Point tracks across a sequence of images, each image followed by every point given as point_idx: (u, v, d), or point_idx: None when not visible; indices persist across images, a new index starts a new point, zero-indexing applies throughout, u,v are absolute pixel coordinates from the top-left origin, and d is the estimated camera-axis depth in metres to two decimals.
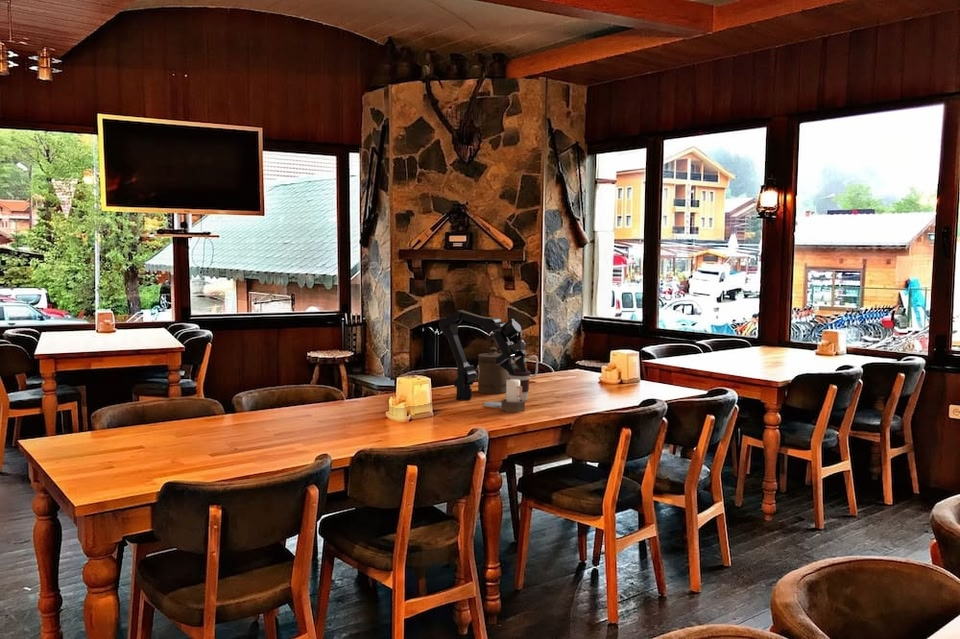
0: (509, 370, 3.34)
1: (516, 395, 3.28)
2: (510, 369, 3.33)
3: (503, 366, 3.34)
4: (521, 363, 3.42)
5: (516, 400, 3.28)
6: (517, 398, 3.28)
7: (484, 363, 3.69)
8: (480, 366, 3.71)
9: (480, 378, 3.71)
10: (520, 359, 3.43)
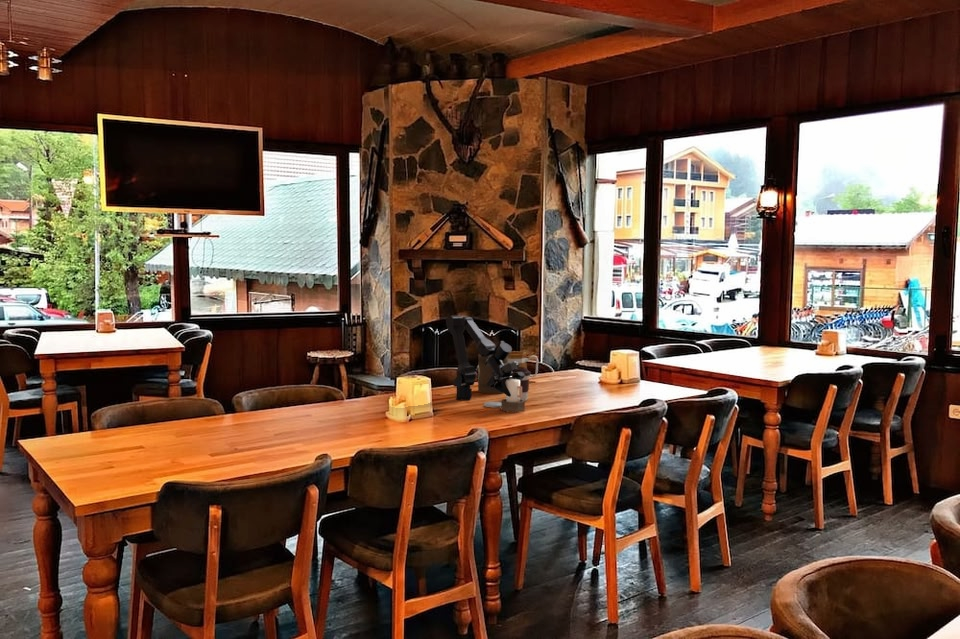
0: (504, 392, 3.28)
1: (516, 395, 3.28)
2: (505, 390, 3.28)
3: (498, 388, 3.30)
4: None
5: (516, 400, 3.28)
6: (517, 398, 3.28)
7: (484, 363, 3.69)
8: (480, 366, 3.71)
9: (480, 378, 3.71)
10: None
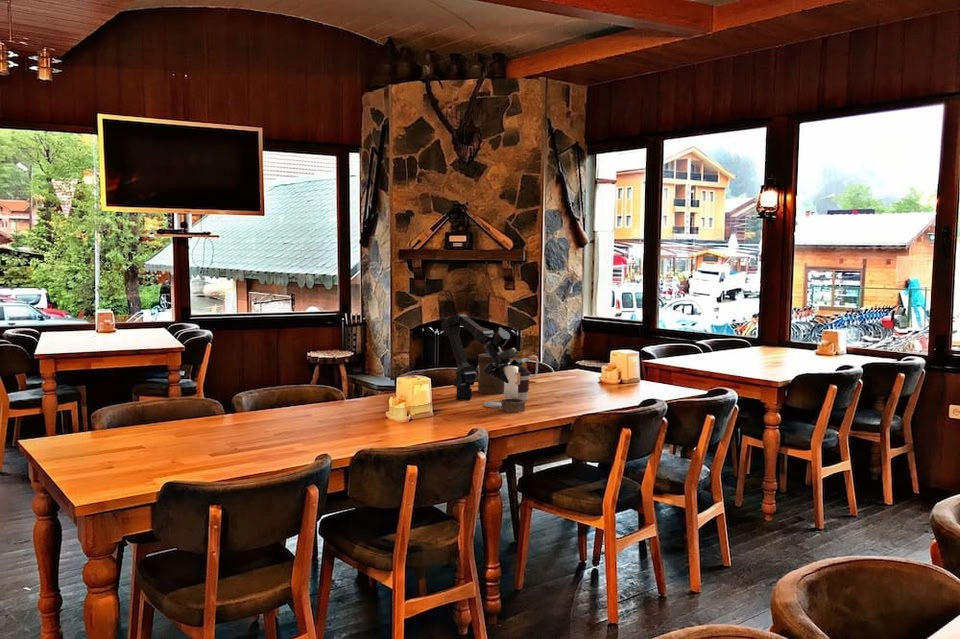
0: (502, 378, 3.29)
1: (514, 382, 3.28)
2: (503, 377, 3.28)
3: (496, 375, 3.30)
4: None
5: (514, 387, 3.28)
6: (515, 385, 3.28)
7: (484, 363, 3.69)
8: (480, 366, 3.71)
9: (480, 378, 3.71)
10: None
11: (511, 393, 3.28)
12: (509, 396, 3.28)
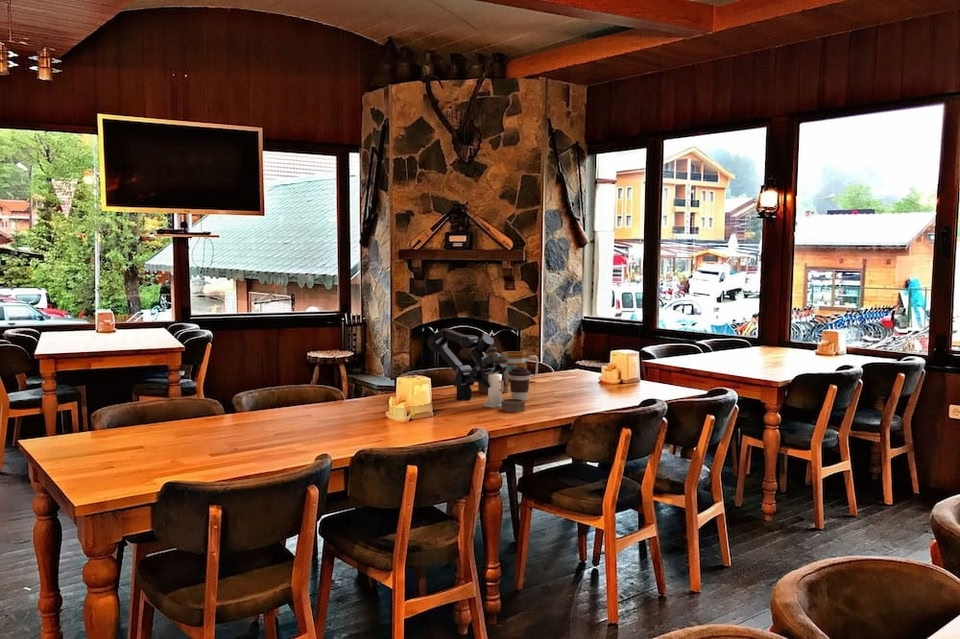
0: (484, 383, 3.35)
1: (497, 389, 3.36)
2: (484, 382, 3.35)
3: (478, 380, 3.37)
4: None
5: (497, 394, 3.36)
6: (498, 392, 3.37)
7: None
8: None
9: None
10: (499, 372, 3.43)
11: (494, 400, 3.36)
12: (493, 403, 3.36)
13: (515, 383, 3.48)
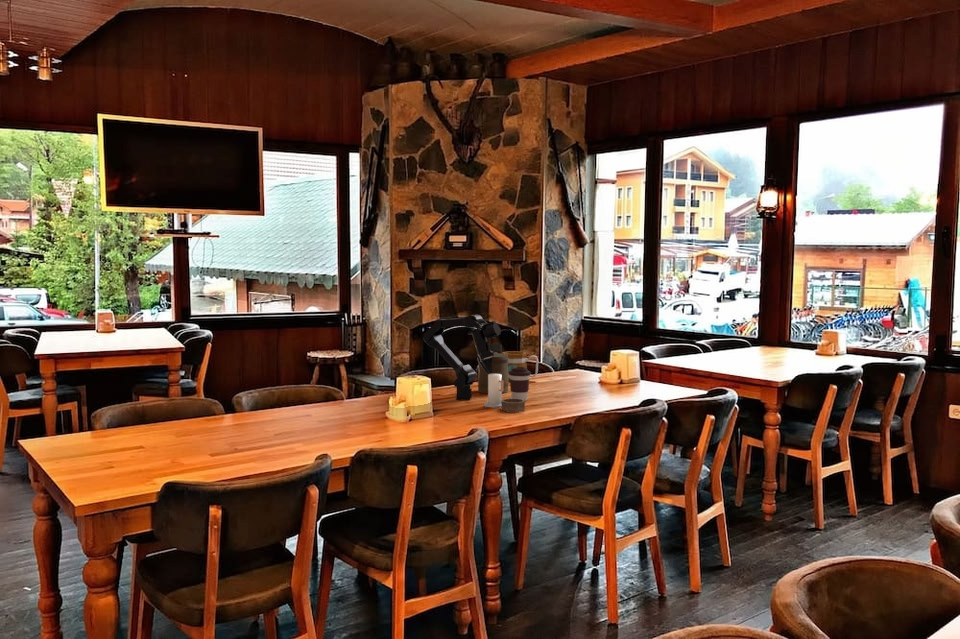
0: (488, 368, 3.41)
1: (497, 389, 3.36)
2: (490, 367, 3.41)
3: (484, 362, 3.41)
4: None
5: (497, 394, 3.36)
6: (498, 392, 3.36)
7: None
8: (480, 366, 3.71)
9: (480, 378, 3.71)
10: None
11: (494, 400, 3.36)
12: (493, 403, 3.36)
13: (515, 383, 3.48)
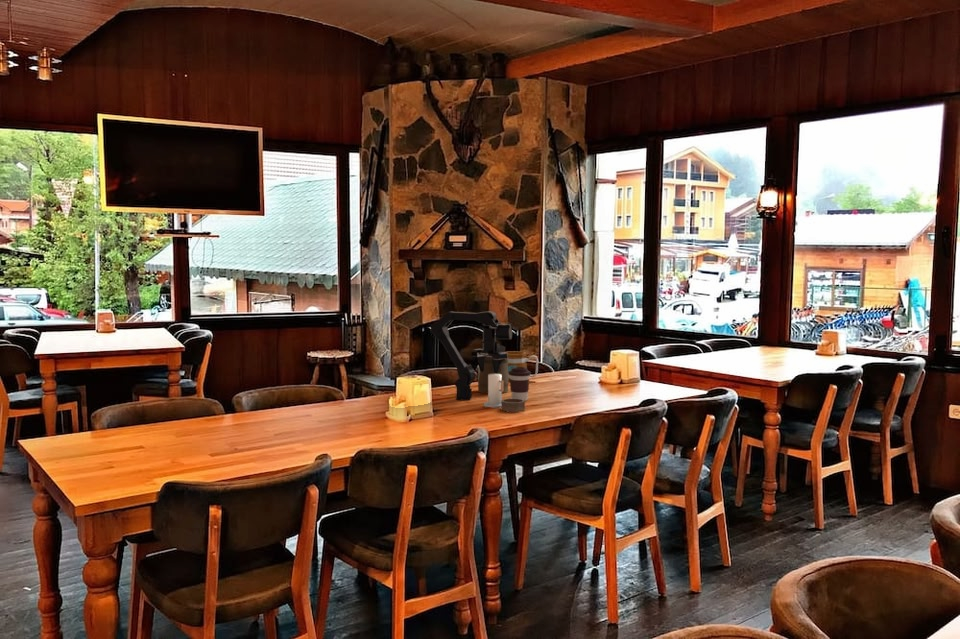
0: (496, 368, 3.46)
1: (497, 389, 3.36)
2: (497, 367, 3.46)
3: (495, 362, 3.44)
4: (482, 362, 3.54)
5: (497, 394, 3.36)
6: (498, 392, 3.36)
7: (484, 363, 3.69)
8: None
9: (480, 378, 3.71)
10: (483, 358, 3.54)
11: (494, 400, 3.36)
12: (493, 403, 3.36)
13: (515, 383, 3.48)
